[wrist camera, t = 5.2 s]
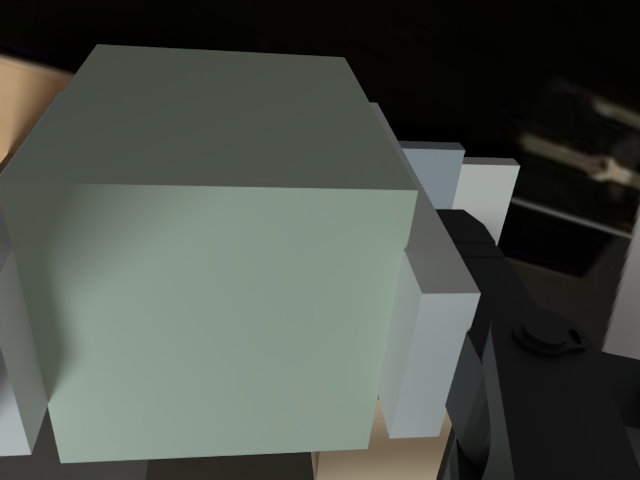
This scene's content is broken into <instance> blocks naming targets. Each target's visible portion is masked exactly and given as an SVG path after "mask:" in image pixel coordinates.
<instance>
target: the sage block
mask: <svg viewBox="0 0 640 480" xmlns="http://www.w3.org/2000/svg"><path fill="white" fill-rule="evenodd" d="M417 194H418V189H417V187H416V186H415V184H414V182H413V180H412V178H411V177H410V175H409V173H408V171H407V169H406V168H405V166H404V164H403V162H402V160H401V159H400V157H399V155H398V153H397V151H396V150H395V148H394V146H393V144H392V142H391V141H390V139H389V137H388V135H387V133H386V132H385V130H384V128H383V126H382V124H381V123H380V121H379V119H378V117H377V115H376V114H375V112H374V110H373V108H372V106H371V105H370V103H369V101H368V99H367V97H366V96H365V94H364V92H363V90H362V88H361V87H360V85H359V83H358V81H357V79H356V78H355V76H354V74H353V72H352V70H351V69H350V67H349V65H348V63H347V61H346V60H345V58H342V57H323V56H305V55H286V54H268V53H249V52H230V51H212V50H193V49H174V48H156V47H137V46H118V45H100V44H97V45H96V47H95V48H94V49H93V51H92V52H91V53H90V55H89V56H88V58H87V59H86V60H85V62H84V63H83V64H82V66H81V67H80V69H79V70H78V71H77V73H76V74H75V75H74V77H73V78H72V80H71V81H70V82H69V84H68V85H67V86H66V88H65V89H64V91H63V92H62V93H61V95H60V96H59V97H58V99H57V100H56V102H55V103H54V104H53V106H52V107H51V109H50V110H49V111H48V113H47V114H46V115H45V117H44V118H43V120H42V121H41V122H40V124H39V125H38V126H37V128H36V129H35V131H34V132H33V133H32V135H31V136H30V137H29V139H28V140H27V142H26V143H25V144H24V146H23V147H22V148H21V150H20V151H19V153H18V154H17V155H16V157H15V158H14V159H13V161H12V162H11V164H10V165H9V166H8V168H7V169H6V170H5V172H4V173H3V175H2V176H1V177H0V197H1V202H2V206H3V211H4V215H5V219H6V224H7V228H8V233H9V237H10V241H11V246H12V249H13V251H14V255H15V260H16V264H17V268H18V273H19V277H20V281H21V286H22V290H23V294H24V299H25V303H26V307H27V312H28V316H29V320H30V324H31V329H32V333H33V337H34V342H35V346H36V350H37V355H38V359H39V363H40V368H41V372H42V376H43V381H44V385H45V389H46V394H47V398H48V402H49V403H48V409H49V414H50V418H51V423H52V427H53V432H54V436H55V440H56V445H57V449H58V454H59V458H60V462H61V463H78V462H99V461H121V460H142V459H164V458H185V457H206V456H228V455H249V454H271V453H292V452H313V451H335V450H356V449H368V445H369V440H370V434H371V429H372V424H373V419H374V414H375V409H376V404H377V399H378V392H377V390H378V384H379V379H380V374H381V368H382V363H383V358H384V352H385V347H386V342H387V336H388V331H389V326H390V320H391V315H392V310H393V304H394V299H395V294H396V288H397V283H398V278H399V272H400V267H401V261H402V256H403V251H404V249H407V245H408V240H409V235H410V230H411V225H412V220H413V215H414V210H415V204H416V199H417Z"/></svg>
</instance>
